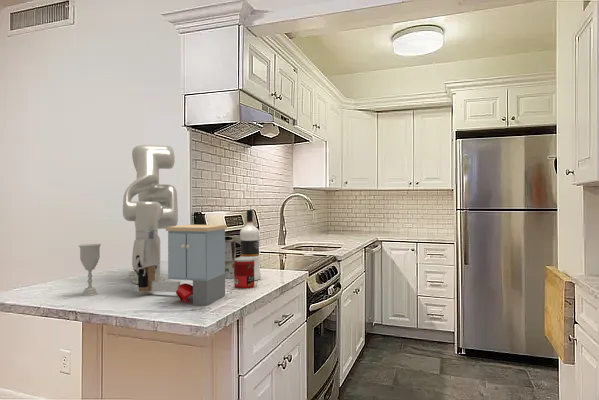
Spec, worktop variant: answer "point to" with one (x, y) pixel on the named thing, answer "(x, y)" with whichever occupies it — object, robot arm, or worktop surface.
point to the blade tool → (158, 283)
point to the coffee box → (230, 258)
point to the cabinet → (198, 259)
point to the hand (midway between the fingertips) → (146, 285)
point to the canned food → (244, 272)
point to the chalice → (89, 264)
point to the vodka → (250, 243)
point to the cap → (184, 291)
